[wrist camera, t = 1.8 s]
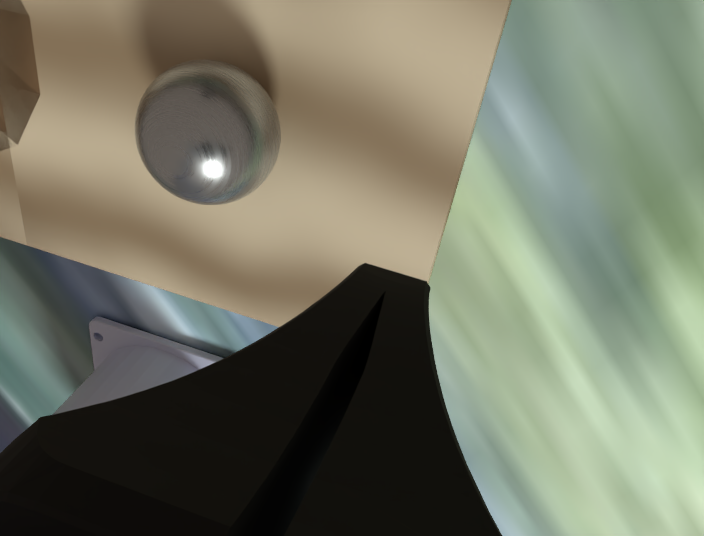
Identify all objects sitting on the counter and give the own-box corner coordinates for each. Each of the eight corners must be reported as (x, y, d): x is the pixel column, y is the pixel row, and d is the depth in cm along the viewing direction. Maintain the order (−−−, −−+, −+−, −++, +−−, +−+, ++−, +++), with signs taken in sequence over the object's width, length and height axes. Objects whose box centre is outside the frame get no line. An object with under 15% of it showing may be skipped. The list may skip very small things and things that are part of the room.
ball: (293, 186, 19) (240, 247, 16) (181, 154, 20) (108, 206, 17) (308, 63, 17) (250, 104, 14) (181, 31, 18) (97, 63, 15)
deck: (415, 326, 24) (402, 366, 22) (-125, 157, 28) (-179, 179, 26) (556, -153, 15) (556, -158, 13) (-274, -310, 19) (-375, -334, 17)
